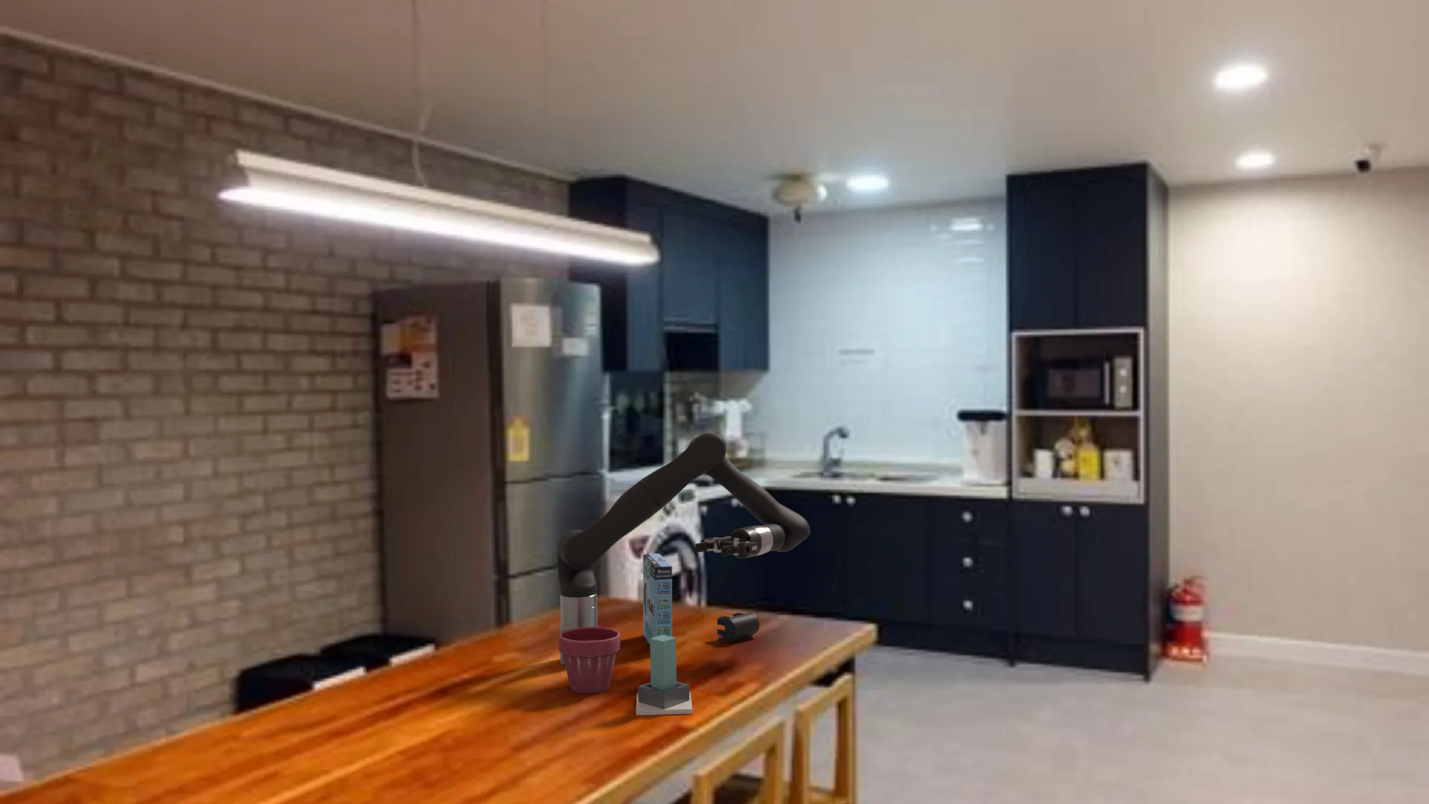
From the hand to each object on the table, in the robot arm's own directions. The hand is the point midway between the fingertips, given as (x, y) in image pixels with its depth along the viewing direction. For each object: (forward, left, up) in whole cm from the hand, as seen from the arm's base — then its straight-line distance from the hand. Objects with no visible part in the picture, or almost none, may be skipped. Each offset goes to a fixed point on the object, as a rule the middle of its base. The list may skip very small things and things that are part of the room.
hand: (709, 550), depth 260 cm
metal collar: (-12, -25, -30) cm, 41 cm away
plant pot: (-29, -10, -30) cm, 43 cm away
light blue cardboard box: (-13, +28, -30) cm, 43 cm away
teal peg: (-12, -25, -29) cm, 40 cm away
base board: (-12, -25, -30) cm, 41 cm away
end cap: (+9, +31, -30) cm, 45 cm away
